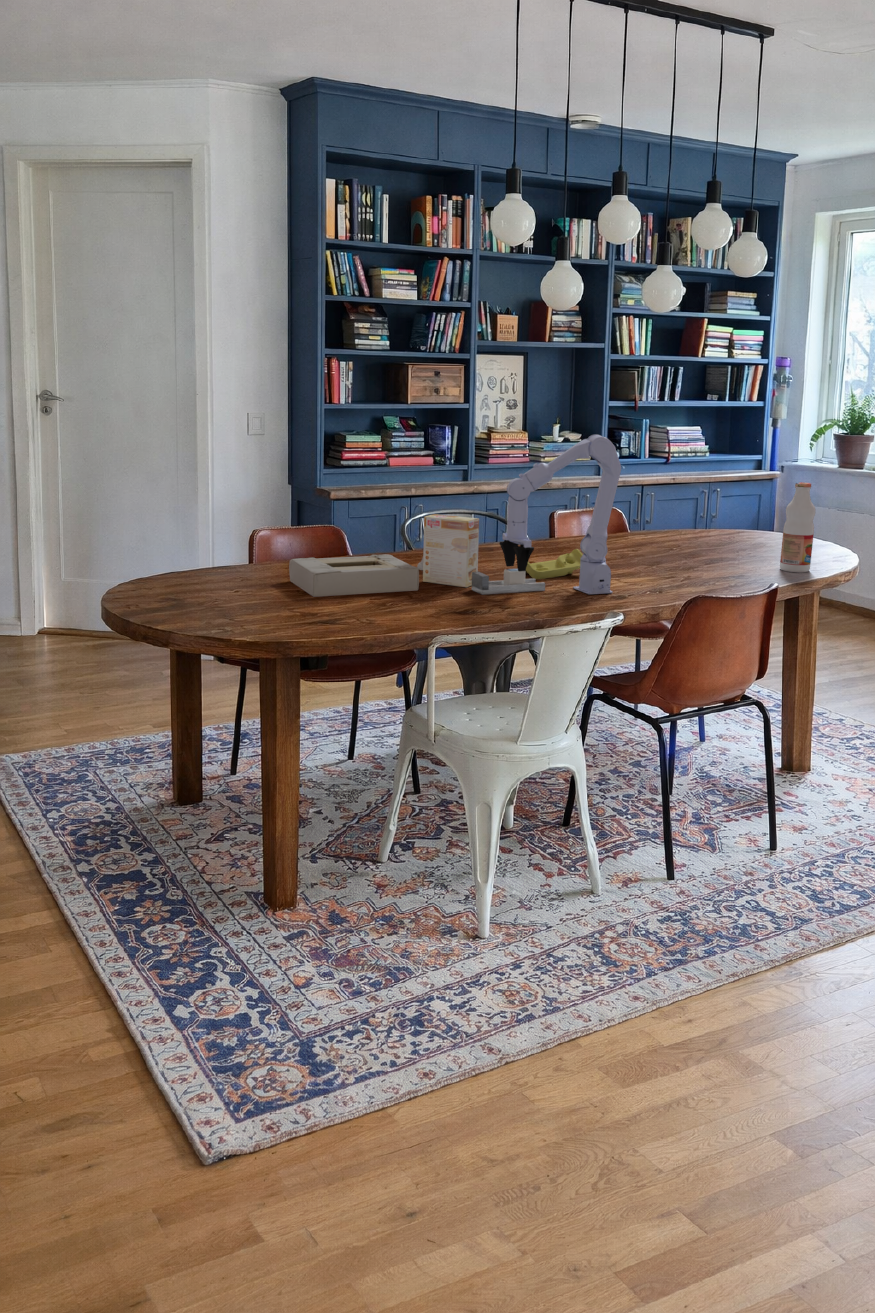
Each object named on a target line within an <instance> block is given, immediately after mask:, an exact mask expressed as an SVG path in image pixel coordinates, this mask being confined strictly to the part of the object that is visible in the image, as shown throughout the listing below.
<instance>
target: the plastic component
mask: <svg viewBox="0 0 875 1313" xmlns="http://www.w3.org/2000/svg"><path fill="white" fill-rule="evenodd" d="M583 554H584V553H583V552H582V551H581V550H580V549H578V548H574V549H572V551H571V552H570V553H565V554H560V555H559V556H558V557H557V559H552V560H545V561H538V562H533V563H530V562H529V561H528V564H527V567H526V574H529V576H530V577H531V579H536V580H543V579H544V580H545V579H551V578H558V577H563V576H567V575H572V574H573V572H574V571H576V570H580V560H581V557H582V555H583Z"/></svg>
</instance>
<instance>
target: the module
mask: <svg viewBox="0 0 875 1313" xmlns="http://www.w3.org/2000/svg"><path fill="white" fill-rule="evenodd" d="M526 574H527V573H526V571H518V568H507V569H505V568H504V569H503V580H504V584H503V585H509V584H525V579H526Z"/></svg>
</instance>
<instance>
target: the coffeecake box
mask: <svg viewBox="0 0 875 1313" xmlns="http://www.w3.org/2000/svg"><path fill="white" fill-rule="evenodd" d="M479 537H480V518H479V517H478V518H477V517H468V516H457V515H448V514H437V513H435V514H429V515H425V516H423V552H422V553H423V556H422V558H423V570H422V582H423V583H432V584H438V585H447V586H453V587H462V588H469V587H472V572H479V570H478V569H479V566H478V565H479V540H480V538H479Z"/></svg>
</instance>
